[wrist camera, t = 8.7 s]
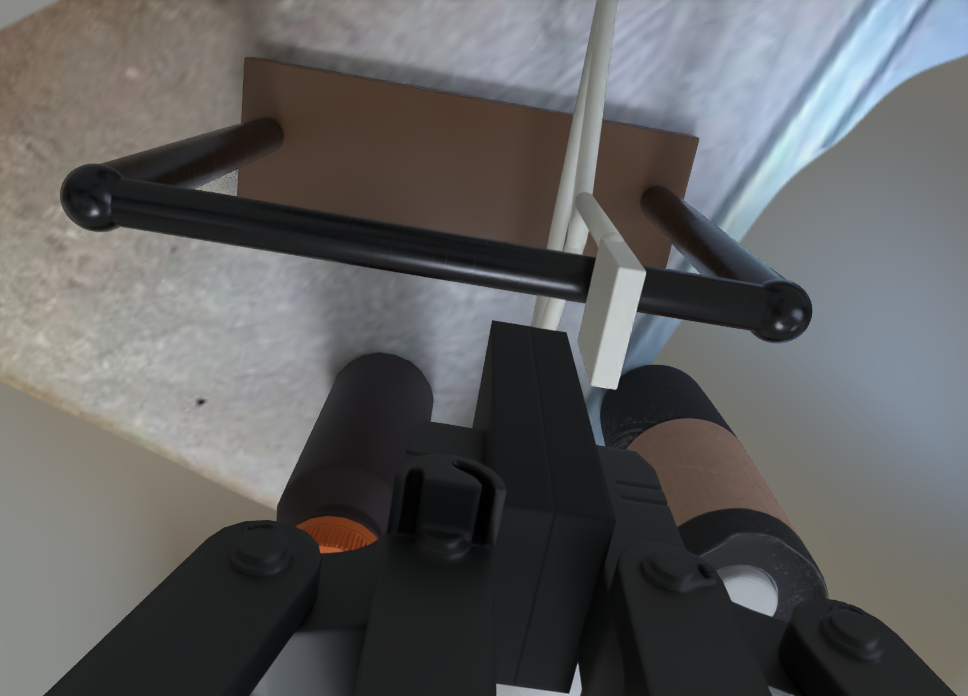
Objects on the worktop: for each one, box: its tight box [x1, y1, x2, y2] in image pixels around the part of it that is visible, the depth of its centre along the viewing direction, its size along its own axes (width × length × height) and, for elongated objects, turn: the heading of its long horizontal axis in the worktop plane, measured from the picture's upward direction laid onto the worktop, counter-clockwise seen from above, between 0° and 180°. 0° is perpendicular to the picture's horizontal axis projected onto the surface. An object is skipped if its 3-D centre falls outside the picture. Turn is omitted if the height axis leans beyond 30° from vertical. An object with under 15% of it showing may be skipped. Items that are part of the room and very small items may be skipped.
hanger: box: [531, 0, 646, 390], centre depth 30 cm, size 23×1×18 cm, turn 170°
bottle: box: [277, 353, 433, 553], centre depth 43 cm, size 7×7×20 cm
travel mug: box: [600, 365, 828, 622], centre depth 43 cm, size 8×8×20 cm
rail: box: [60, 57, 812, 343], centre depth 36 cm, size 8×26×23 cm, turn 80°
